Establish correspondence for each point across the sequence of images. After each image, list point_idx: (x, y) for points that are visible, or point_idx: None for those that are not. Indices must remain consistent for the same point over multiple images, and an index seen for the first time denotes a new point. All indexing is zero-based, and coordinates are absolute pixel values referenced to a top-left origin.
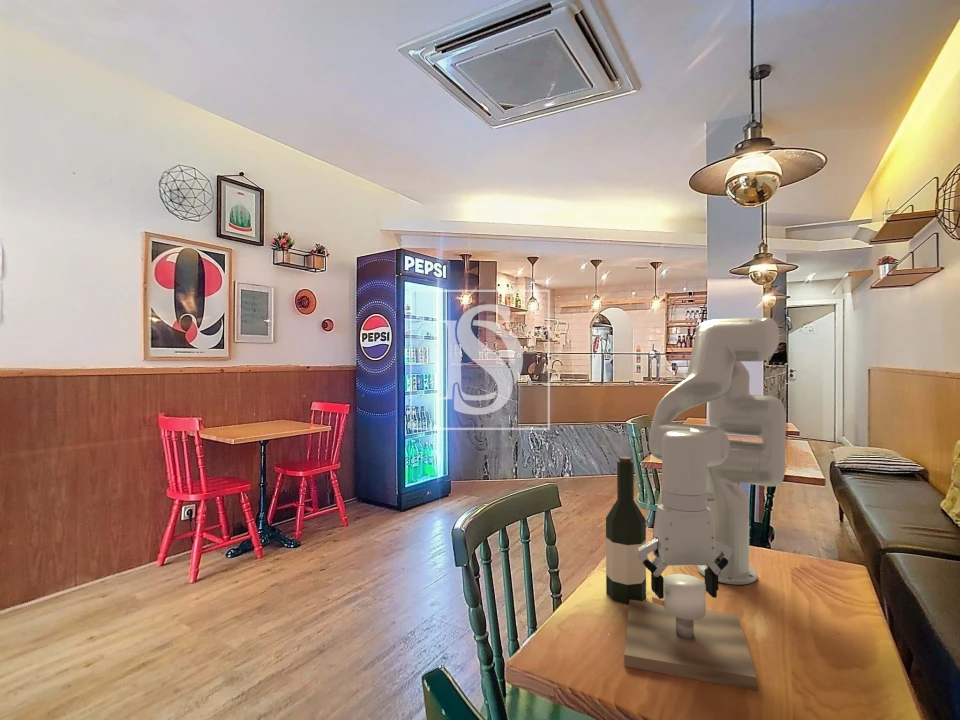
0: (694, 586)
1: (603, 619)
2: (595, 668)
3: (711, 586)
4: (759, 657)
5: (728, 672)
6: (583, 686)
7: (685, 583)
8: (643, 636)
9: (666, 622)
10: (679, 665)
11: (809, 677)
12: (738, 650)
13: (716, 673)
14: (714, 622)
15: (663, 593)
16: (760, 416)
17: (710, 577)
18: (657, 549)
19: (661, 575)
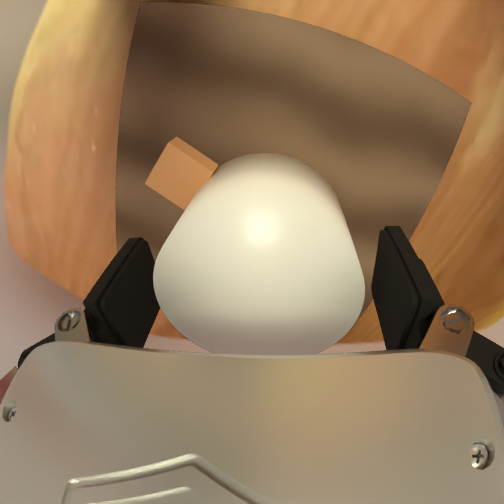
0: (290, 335)
1: (83, 82)
2: (88, 260)
3: (381, 313)
4: (420, 231)
5: None
6: (84, 294)
7: (257, 313)
8: (153, 208)
9: (230, 131)
10: None
11: (452, 283)
12: (374, 262)
13: None
14: (390, 133)
15: (159, 308)
16: None
17: (392, 338)
18: (34, 371)
19: (126, 345)
